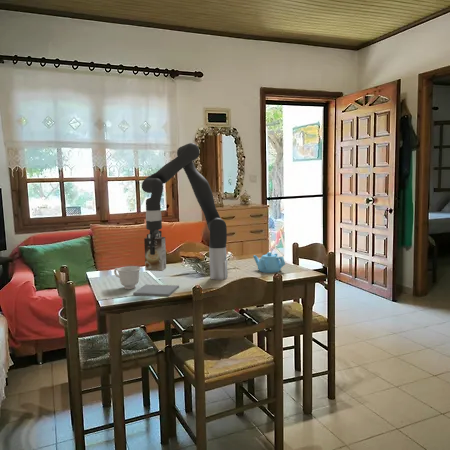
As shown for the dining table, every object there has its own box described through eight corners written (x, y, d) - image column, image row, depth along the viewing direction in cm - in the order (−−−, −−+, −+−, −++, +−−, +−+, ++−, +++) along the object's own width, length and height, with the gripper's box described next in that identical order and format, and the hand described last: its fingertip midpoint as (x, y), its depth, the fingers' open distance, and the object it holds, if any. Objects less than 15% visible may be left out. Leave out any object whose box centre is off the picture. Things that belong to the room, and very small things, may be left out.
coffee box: (144, 270, 209) (143, 238, 207) (149, 267, 215) (148, 236, 213) (162, 271, 207) (161, 238, 205) (166, 268, 214) (165, 236, 212)
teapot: (260, 274, 242) (260, 255, 241) (252, 268, 257) (252, 251, 256) (286, 272, 246) (286, 254, 245) (276, 267, 260) (276, 249, 259)
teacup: (122, 283, 229) (121, 265, 228) (146, 285, 224) (145, 266, 223) (108, 289, 218) (107, 270, 217) (133, 291, 213) (132, 271, 211)
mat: (179, 287, 218) (178, 285, 218) (169, 296, 203) (168, 294, 203) (145, 286, 222) (145, 284, 222) (133, 295, 206) (133, 293, 206)
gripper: (151, 218, 216) (153, 250, 218) (140, 221, 202) (142, 255, 204) (166, 217, 215) (167, 250, 217) (155, 221, 201) (157, 256, 203)
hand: (155, 253), depth 210 cm, fingers closed on coffee box, 6 cm apart
